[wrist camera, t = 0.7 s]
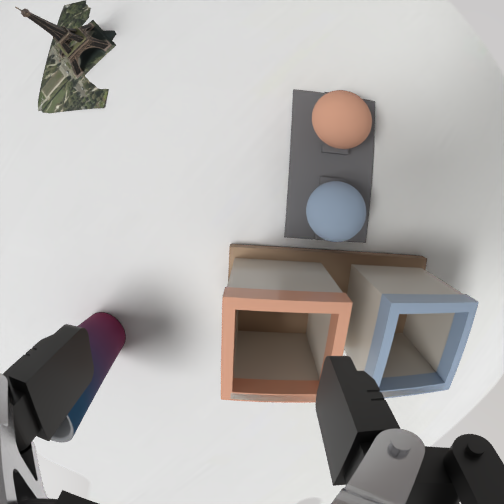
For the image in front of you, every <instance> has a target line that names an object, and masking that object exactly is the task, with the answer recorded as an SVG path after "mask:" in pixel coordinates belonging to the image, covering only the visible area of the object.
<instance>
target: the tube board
mask: <svg viewBox="0 0 504 504" xmlns="http://www.w3.org/2000/svg"><path fill="white" fill-rule="evenodd" d="M234 258H247V259H264V260H282V261H300V262H318V263H322V265H323V266H324V267H325V269H326V270H327V271H328V273H329V274H330V275H331V277H332V278H333V280H334V281H335V282H336V284H337V285H338V286H339V288H340V289H341V291H342V292H343V293H346V294H347V291H348V284H349V277H350V270H351V264H355V265H374V266H394V267H414V268H423V269H424V270H425V268H426V262H427V258H425V257H423V256H416V255H401V254H386V253H371V252H355V251H339V250H323V249H306V248H290V247H273V246H256V245H239V244H230V250H229V275H228V282H229V278H230V274H231V270H232V266H233V262H234ZM308 314H309V313H293V312H270V311H251V310H239V315H238V331H255V332H277V333H306V329H307V322H308ZM406 318H407V314H399V317H398V321H397V325H396V329H395V333H403V330H404V326H405V322H406Z"/></svg>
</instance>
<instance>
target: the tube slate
mask: <svg viewBox="0 0 504 504" xmlns="http://www.w3.org/2000/svg"><path fill="white" fill-rule="evenodd" d="M347 295H348V297H349V298H350V299H351V301H352V302H353V304H352V310H351V315H350V321H349V326H348V331H347V336H346V341H345V346H344V350H345V352H346V354H347V356H350V357H351V359H352V361H353V363H354V365H355V367H356V369H357V371H365V372H366V373H367V374H369V375H370V376H371V377H372V378H373V379H375V381H376V383H377V385H378V387H379V389H380V392H382V394H383V396H384V398H392V397H401V396H409V395H416V394H423V393H430V392H436V391H442V390H448V389H449V388H450V385H451V383H452V380H453V378H454V375H455V373H456V370H457V368H458V365H459V362H460V360H461V357H462V354H463V351H464V348H465V345H466V342H467V339H468V336H469V333H470V330H471V327H472V324H473V320H474V317H475V313H476V310H477V306H478V301H476V300H475V299H473V298H471V297H470V296H468V295H467V294H462V293H461V292H459V291H458V290H456V289H455V288H453V287H452V286H450V285H448V284H447V283H445V282H444V281H442V280H440V279H439V278H437V277H436V276H434V275H432V274H431V273H429V272H428V271H426V270H424V269H423V268H414V267H394V266H374V265H355V264H351V270H350V277H349V284H348V291H347ZM399 314H407V318H406V322H405V326H404V330H403V333H395V329H396V325H397V321H398V317H399Z"/></svg>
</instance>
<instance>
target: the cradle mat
mask: <svg viewBox="0 0 504 504" xmlns="http://www.w3.org/2000/svg"><path fill="white" fill-rule="evenodd" d="M327 93H329V92H325V93H320V92H312V91H303V90H293V107H292V127H291V146H290V163H289V179H288V194H287V209H286V223H285V236H284V237H288V238H303V239H316V240H325V239H323V238H321V237H319V236H318V235H317V234H316V233H315V232H314V231H313V230H312V228H311V227H310V225H309V223H308V220H307V215H306V207H307V202H308V199H309V197H310V195H311V194H312V193H313V191H314V190H315V189H316V188H317V187H319V186H320V185H322V184H324V183H327V182H331V181H340V182H345V183H347V184H350V185H351V186H353V187H354V188H355V189H357V190H358V192H359V193H360V194H361V196H362V197H363V199H364V202H365V206H366V219H365V222H364V225H363V227H362V228H361V230H360V231H359V232H358V233H357V234H356V235H355V236H354V237H352V238H351V239H348V240H346V241H348V242H362V243H366V235H367V226H368V217H369V206H370V195H371V183H372V169H373V151H374V123H375V101H370V100H365V99H362V100H363V101H364V102H365V103H366V104H367V106H368V108H369V110H370V112H371V116H372V127H371V130H370V133H369V135H368V137H367V138H366V139H365V140H364V141H363V142H362V143H361V144H360V145H358V146H356V147H353V148H350V149H338V148H334V147H331V146H329V145H327V144H326V143H324V142H323V141H322V140H321V139H320V138H319V137H318V135H317V134H316V132H315V130H314V128H313V124H312V112H313V108H314V106H315V104H316V103H317V101H318V100H319V99H320V98H321V97H322V96H323V95H325V94H327Z"/></svg>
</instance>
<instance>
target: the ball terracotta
mask: <svg viewBox="0 0 504 504" xmlns="http://www.w3.org/2000/svg"><path fill="white" fill-rule="evenodd" d="M312 124H313V128H314V130H315V132H316V134H317V135H318V137H319V138H320V139H321V140H322V141H323V142H324V143H326V144H327V145H329V146H331V147H334V148H338V149H350V148H353V147H356V146H358V145H360V144H361V143H362V142H363V141H364V140H365V139H366V138H367V137H368V135H369V133H370V130H371V127H372V116H371V112H370V110H369V108H368V106H367V104H366V103H365V102H364V101H363V100H362V99H361V98H360V97H359V96H357V95H356V94H354V93H351V92H348V91H343V90H337V91H332V92H329V93H327V94H325V95H323V96H322V97H321V98H320V99H319V100H318V101H317V103H316V104H315V106H314V108H313V112H312Z"/></svg>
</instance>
